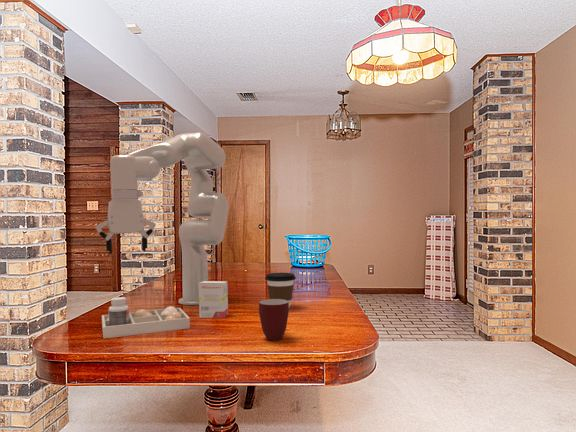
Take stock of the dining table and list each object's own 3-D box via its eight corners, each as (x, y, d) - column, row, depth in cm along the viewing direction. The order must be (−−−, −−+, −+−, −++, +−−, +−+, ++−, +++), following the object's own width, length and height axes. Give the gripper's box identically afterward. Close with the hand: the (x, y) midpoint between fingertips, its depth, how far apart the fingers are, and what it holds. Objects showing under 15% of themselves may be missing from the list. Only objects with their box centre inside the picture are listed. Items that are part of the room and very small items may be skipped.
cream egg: (169, 318, 142) (168, 304, 142) (180, 319, 141) (180, 305, 141) (156, 323, 136) (155, 309, 136) (168, 324, 135) (167, 310, 135)
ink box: (228, 316, 147) (228, 280, 146) (224, 319, 142) (224, 283, 142) (203, 315, 148) (203, 280, 148) (198, 319, 143) (198, 282, 143)
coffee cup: (302, 307, 158) (301, 274, 158) (281, 313, 150) (280, 277, 150) (280, 303, 165) (279, 271, 165) (259, 308, 157) (258, 274, 157)
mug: (260, 332, 126) (260, 297, 126) (289, 332, 126) (288, 297, 126) (258, 343, 116) (257, 305, 116) (289, 343, 116) (288, 304, 116)
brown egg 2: (171, 323, 135) (171, 309, 135) (184, 324, 134) (184, 309, 134) (160, 329, 129) (160, 314, 129) (173, 330, 128) (173, 315, 128)
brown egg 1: (130, 324, 135) (130, 309, 135) (141, 320, 139) (141, 307, 139) (146, 326, 132) (146, 312, 132) (157, 323, 136) (157, 309, 136)
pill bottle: (131, 333, 125) (130, 298, 125) (111, 336, 122) (110, 300, 122) (126, 329, 129) (125, 295, 129) (107, 332, 126) (106, 297, 126)
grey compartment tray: (179, 318, 144) (179, 307, 144) (189, 330, 130) (189, 317, 130) (101, 327, 135) (101, 315, 134) (103, 340, 120) (103, 327, 120)
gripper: (152, 195, 142) (154, 248, 143) (93, 196, 135) (96, 253, 135) (156, 195, 135) (158, 251, 136) (94, 196, 128) (97, 255, 128)
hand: (127, 252), depth 136 cm, fingers open, 9 cm apart
